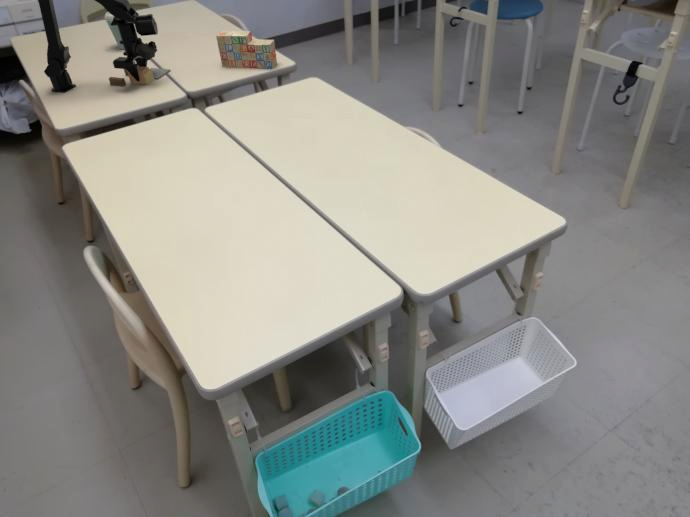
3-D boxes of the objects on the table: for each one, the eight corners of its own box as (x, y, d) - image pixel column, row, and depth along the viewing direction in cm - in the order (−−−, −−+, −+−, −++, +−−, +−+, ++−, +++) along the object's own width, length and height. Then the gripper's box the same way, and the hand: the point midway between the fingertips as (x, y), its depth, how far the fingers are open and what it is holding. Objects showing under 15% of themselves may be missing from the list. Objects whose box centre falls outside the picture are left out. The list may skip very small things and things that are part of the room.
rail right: (138, 76, 208) (136, 70, 206) (125, 75, 210) (123, 69, 208) (140, 75, 209) (139, 68, 207) (128, 74, 211) (126, 67, 209)
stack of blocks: (277, 63, 213) (273, 31, 205) (272, 69, 208) (268, 36, 200) (227, 61, 217) (222, 30, 209) (221, 67, 212) (215, 35, 204)
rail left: (123, 86, 201) (121, 79, 200) (110, 84, 203) (108, 78, 201) (126, 84, 202) (124, 78, 201) (113, 83, 204) (110, 76, 202)
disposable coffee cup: (131, 51, 232) (120, 15, 222) (109, 51, 233) (97, 14, 224) (143, 43, 239) (133, 7, 230) (121, 43, 241) (111, 7, 232)
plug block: (148, 84, 201) (144, 71, 198) (130, 82, 203) (126, 69, 200) (154, 80, 204) (150, 67, 201) (136, 78, 206) (132, 65, 203)
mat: (157, 79, 205) (157, 78, 204) (138, 77, 207) (137, 76, 207) (170, 71, 211) (170, 69, 211) (151, 69, 214) (151, 67, 213)
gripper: (132, 46, 184) (145, 90, 194) (162, 29, 198) (173, 71, 208) (105, 44, 187) (119, 87, 197) (137, 28, 201) (148, 69, 211)
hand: (141, 78), depth 203 cm, fingers closed on plug block, 4 cm apart
